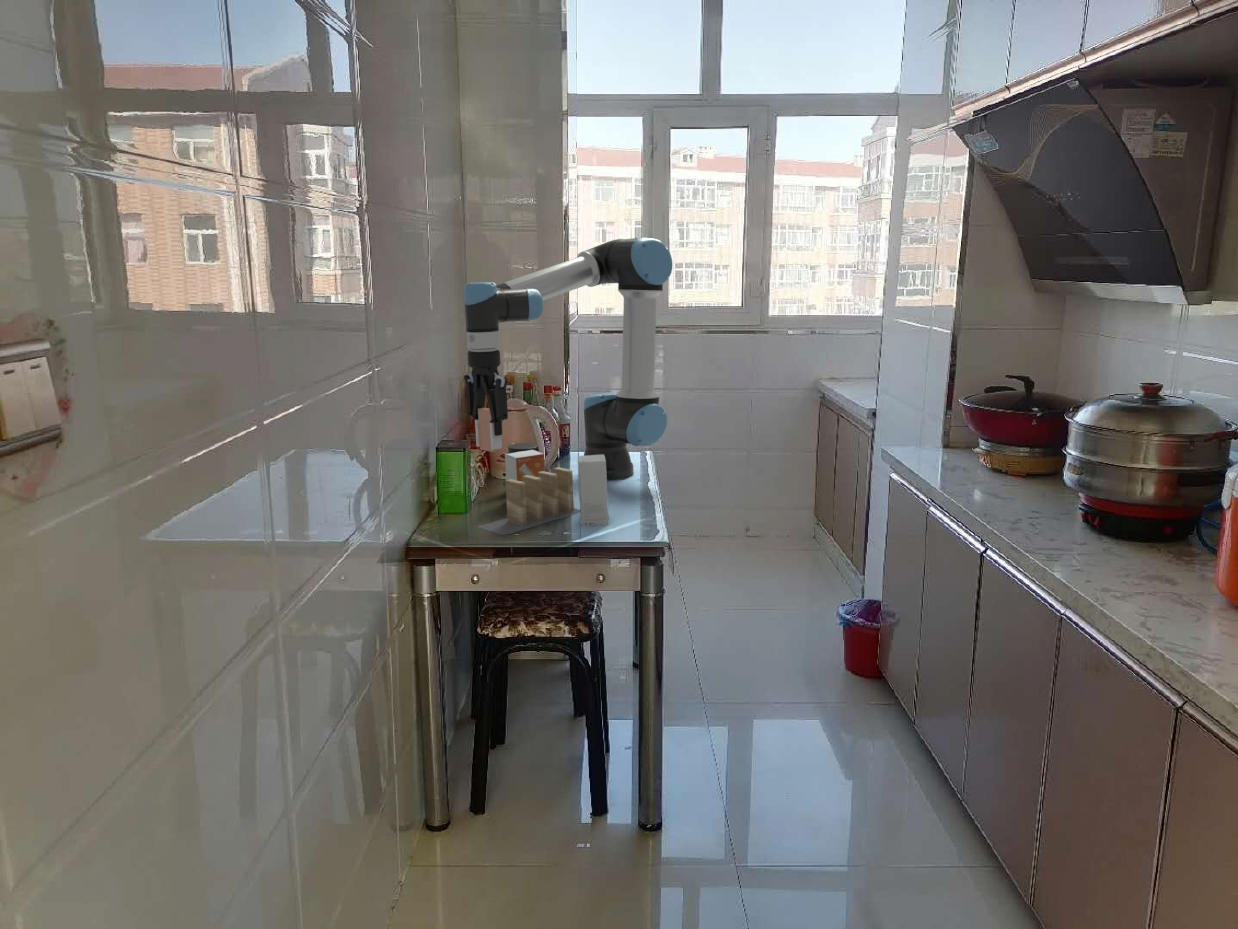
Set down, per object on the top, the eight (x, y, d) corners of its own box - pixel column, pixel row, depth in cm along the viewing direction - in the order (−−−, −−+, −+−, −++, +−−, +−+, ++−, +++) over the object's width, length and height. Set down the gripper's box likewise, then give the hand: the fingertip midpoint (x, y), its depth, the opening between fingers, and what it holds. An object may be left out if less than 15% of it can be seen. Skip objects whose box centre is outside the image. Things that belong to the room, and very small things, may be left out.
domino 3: (529, 515, 222) (527, 475, 220) (543, 519, 219) (541, 478, 216) (523, 517, 221) (521, 476, 219) (537, 520, 217) (535, 479, 215)
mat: (556, 506, 232) (556, 504, 231) (584, 513, 225) (584, 510, 225) (476, 529, 214) (476, 526, 214) (504, 537, 207) (504, 535, 207)
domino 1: (485, 448, 224) (483, 407, 222) (498, 451, 221) (496, 409, 219) (480, 449, 223) (477, 408, 221) (493, 452, 220) (490, 410, 218)
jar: (547, 490, 248) (545, 446, 245) (521, 495, 243) (518, 450, 240) (529, 484, 255) (527, 441, 252) (504, 489, 250) (501, 445, 247)
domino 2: (512, 520, 218) (510, 479, 216) (526, 524, 215) (524, 482, 213) (507, 521, 217) (505, 480, 215) (521, 525, 214) (519, 483, 212)
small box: (518, 509, 230) (515, 457, 227) (506, 503, 235) (503, 453, 232) (546, 503, 235) (544, 453, 232) (534, 498, 240) (532, 449, 237)
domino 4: (544, 511, 225) (542, 471, 223) (558, 514, 222) (556, 474, 220) (539, 512, 224) (537, 472, 222) (553, 516, 221) (551, 475, 219)
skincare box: (609, 527, 213) (607, 461, 209) (580, 528, 213) (577, 462, 209) (607, 517, 221) (605, 453, 218) (579, 518, 221) (577, 454, 217)
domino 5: (559, 506, 229) (558, 467, 227) (573, 510, 226) (572, 470, 223) (555, 508, 228) (553, 468, 226) (569, 511, 224) (567, 471, 222)
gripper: (447, 349, 220) (454, 445, 226) (494, 353, 208) (500, 454, 213) (473, 346, 226) (478, 440, 231) (520, 350, 213) (525, 449, 218)
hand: (489, 447), depth 222 cm, fingers closed on domino 1, 5 cm apart
